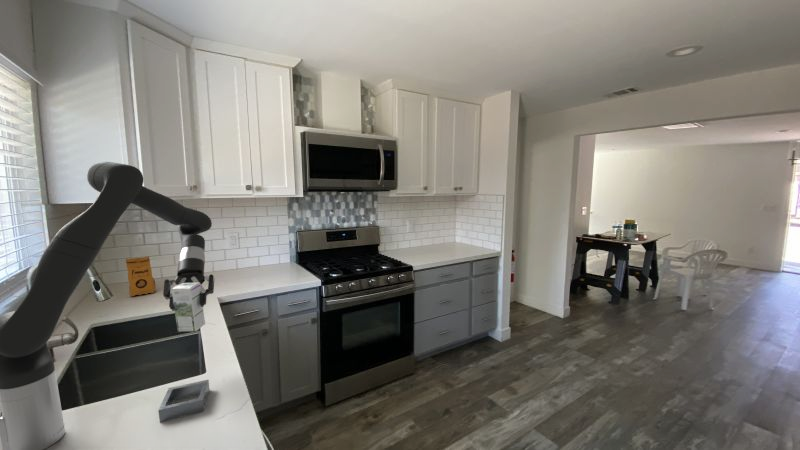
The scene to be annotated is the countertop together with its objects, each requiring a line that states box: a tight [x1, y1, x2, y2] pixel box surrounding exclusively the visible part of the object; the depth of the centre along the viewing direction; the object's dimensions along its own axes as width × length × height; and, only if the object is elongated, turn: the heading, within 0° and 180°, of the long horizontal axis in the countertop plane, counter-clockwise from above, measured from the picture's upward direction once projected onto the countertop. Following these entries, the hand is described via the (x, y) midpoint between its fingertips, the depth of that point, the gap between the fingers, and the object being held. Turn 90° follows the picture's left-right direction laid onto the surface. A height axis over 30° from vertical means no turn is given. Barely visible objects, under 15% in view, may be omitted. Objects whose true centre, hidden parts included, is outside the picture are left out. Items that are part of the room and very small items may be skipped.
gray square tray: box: [157, 379, 211, 423], centre depth 92 cm, size 10×10×4 cm
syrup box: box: [171, 283, 206, 333], centre depth 102 cm, size 6×6×14 cm
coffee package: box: [125, 256, 157, 297], centre depth 188 cm, size 10×12×22 cm
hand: (187, 307), depth 101 cm, fingers closed on syrup box, 7 cm apart
